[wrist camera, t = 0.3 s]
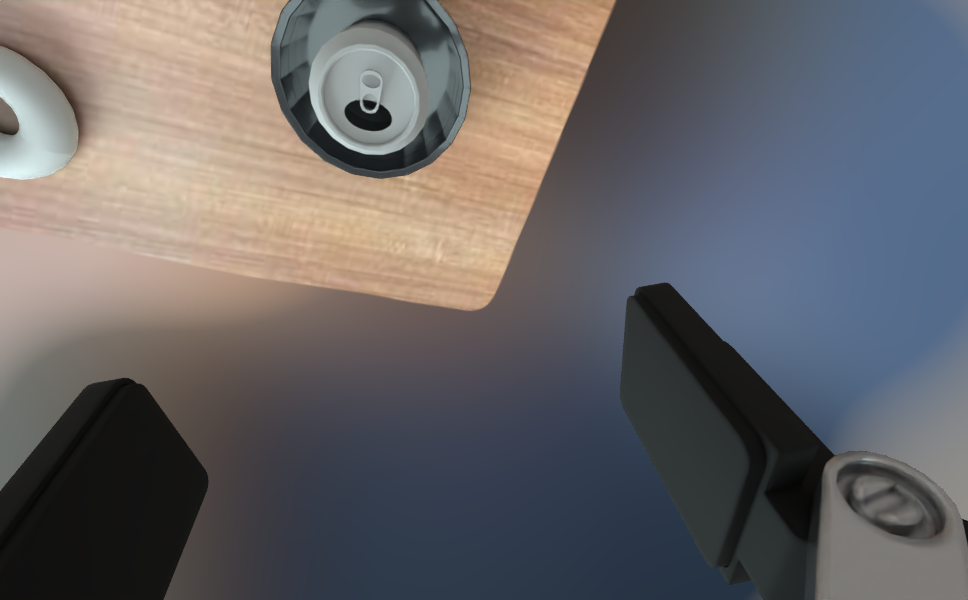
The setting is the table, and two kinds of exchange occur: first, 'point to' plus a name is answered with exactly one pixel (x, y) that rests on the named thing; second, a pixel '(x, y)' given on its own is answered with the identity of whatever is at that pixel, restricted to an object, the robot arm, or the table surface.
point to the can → (370, 88)
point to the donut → (34, 121)
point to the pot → (417, 12)
